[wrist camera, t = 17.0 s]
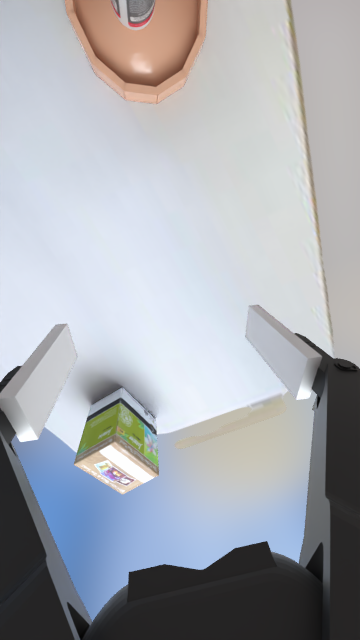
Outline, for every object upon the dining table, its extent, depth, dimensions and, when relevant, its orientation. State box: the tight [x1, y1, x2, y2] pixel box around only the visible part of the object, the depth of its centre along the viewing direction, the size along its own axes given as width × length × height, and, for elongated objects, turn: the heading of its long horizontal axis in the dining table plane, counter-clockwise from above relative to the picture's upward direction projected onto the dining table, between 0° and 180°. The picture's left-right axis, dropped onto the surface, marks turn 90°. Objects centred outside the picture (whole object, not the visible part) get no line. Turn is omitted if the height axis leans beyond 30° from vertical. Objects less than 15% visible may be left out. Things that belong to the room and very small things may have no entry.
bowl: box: [65, 0, 208, 104], centre depth 25 cm, size 16×16×2 cm
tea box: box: [74, 387, 159, 494], centre depth 49 cm, size 15×10×15 cm
